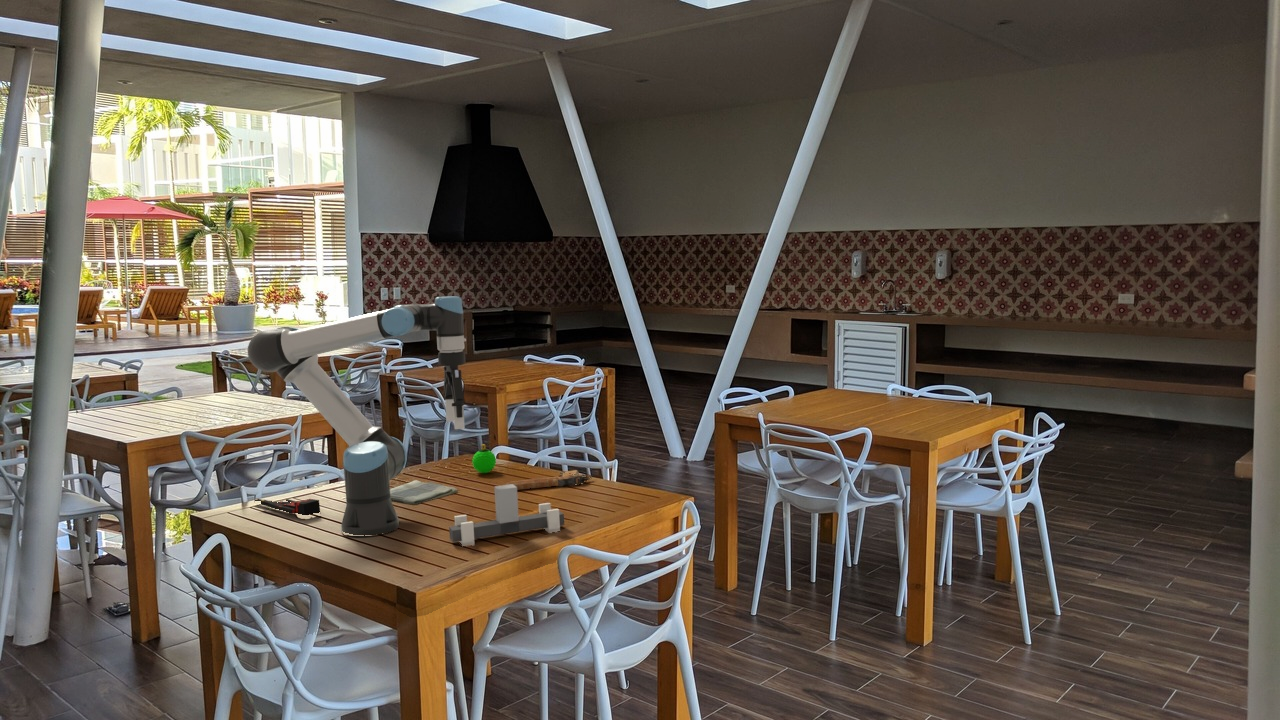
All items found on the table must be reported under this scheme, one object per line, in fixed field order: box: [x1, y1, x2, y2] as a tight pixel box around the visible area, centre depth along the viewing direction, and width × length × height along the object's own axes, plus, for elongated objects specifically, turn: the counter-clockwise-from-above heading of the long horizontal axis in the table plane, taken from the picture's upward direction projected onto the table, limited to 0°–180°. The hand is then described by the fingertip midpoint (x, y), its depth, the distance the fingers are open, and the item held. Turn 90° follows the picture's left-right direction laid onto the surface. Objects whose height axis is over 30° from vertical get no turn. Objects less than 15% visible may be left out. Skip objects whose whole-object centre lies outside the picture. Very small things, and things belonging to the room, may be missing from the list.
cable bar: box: [448, 484, 565, 543], centre depth 245 cm, size 30×4×12 cm, turn 114°
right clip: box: [538, 502, 561, 534], centre depth 250 cm, size 3×8×6 cm, turn 23°
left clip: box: [453, 514, 475, 547], centre depth 241 cm, size 3×8×6 cm, turn 23°
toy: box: [254, 498, 321, 515], centre depth 280 cm, size 8×5×30 cm
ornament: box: [472, 443, 497, 474], centre depth 321 cm, size 8×8×10 cm
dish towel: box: [390, 479, 459, 506], centre depth 294 cm, size 19×18×3 cm
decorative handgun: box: [505, 469, 592, 491], centre depth 303 cm, size 3×28×15 cm
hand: (455, 425), depth 266 cm, fingers open, 13 cm apart
